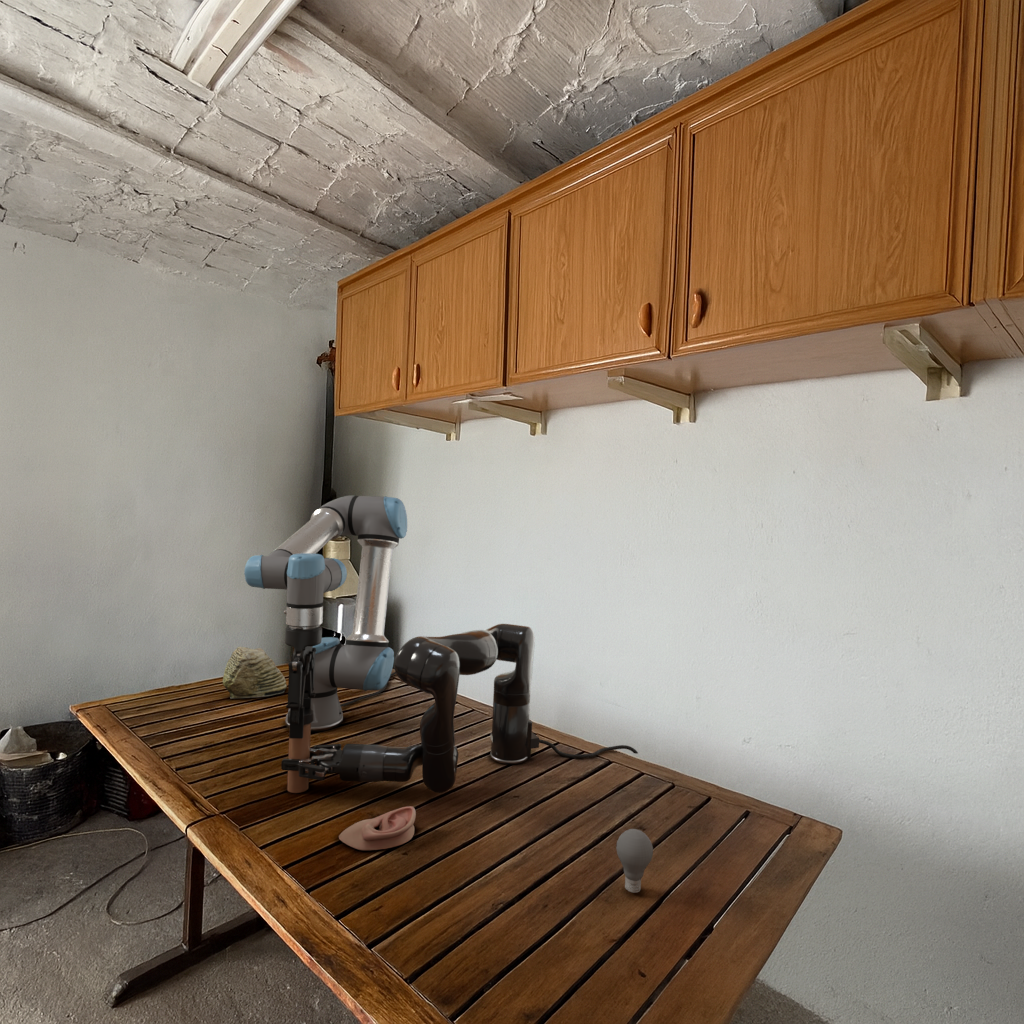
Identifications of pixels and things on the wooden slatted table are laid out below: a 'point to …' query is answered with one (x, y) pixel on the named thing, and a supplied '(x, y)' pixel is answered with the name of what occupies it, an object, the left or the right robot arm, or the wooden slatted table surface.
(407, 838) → the anatomical model
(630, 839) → the light bulb
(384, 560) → the left robot arm
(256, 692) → the fossil
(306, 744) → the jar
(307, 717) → the lid
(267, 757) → the wooden slatted table surface
